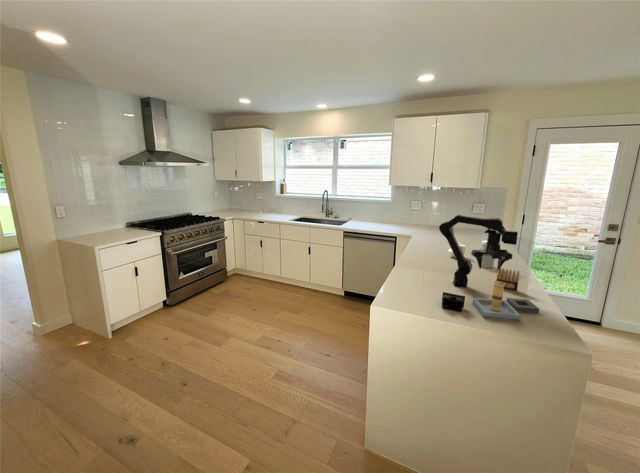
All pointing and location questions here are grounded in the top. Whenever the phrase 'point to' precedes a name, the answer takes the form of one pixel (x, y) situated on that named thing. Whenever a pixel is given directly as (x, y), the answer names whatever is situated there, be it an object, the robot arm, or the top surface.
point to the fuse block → (523, 305)
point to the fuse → (497, 296)
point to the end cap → (453, 302)
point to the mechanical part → (460, 248)
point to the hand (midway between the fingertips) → (489, 269)
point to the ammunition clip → (507, 281)
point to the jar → (486, 257)
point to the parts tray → (505, 312)
